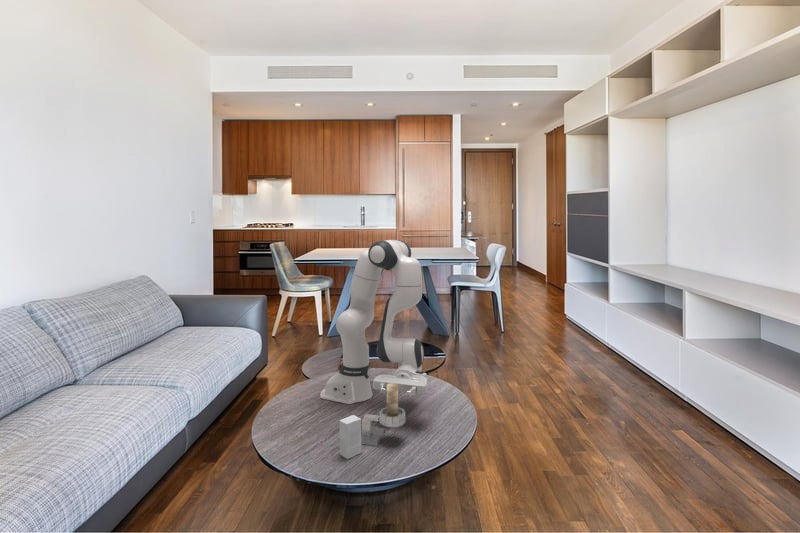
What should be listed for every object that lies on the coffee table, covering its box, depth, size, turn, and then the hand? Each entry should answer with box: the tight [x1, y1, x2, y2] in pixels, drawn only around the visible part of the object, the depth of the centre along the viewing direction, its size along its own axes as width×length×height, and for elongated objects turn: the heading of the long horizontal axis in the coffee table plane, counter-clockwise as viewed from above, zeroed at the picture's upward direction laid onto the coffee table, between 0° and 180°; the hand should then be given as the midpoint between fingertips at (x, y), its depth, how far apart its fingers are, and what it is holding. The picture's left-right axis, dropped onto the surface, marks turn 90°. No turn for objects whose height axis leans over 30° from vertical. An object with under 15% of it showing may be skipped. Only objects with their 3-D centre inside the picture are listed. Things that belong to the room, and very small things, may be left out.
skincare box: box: [338, 414, 363, 460], centre depth 151 cm, size 6×4×12 cm
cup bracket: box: [361, 406, 406, 447], centre depth 161 cm, size 18×10×10 cm, turn 76°
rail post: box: [386, 383, 399, 416], centre depth 159 cm, size 4×4×12 cm
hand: (395, 392), depth 164 cm, fingers open, 8 cm apart
